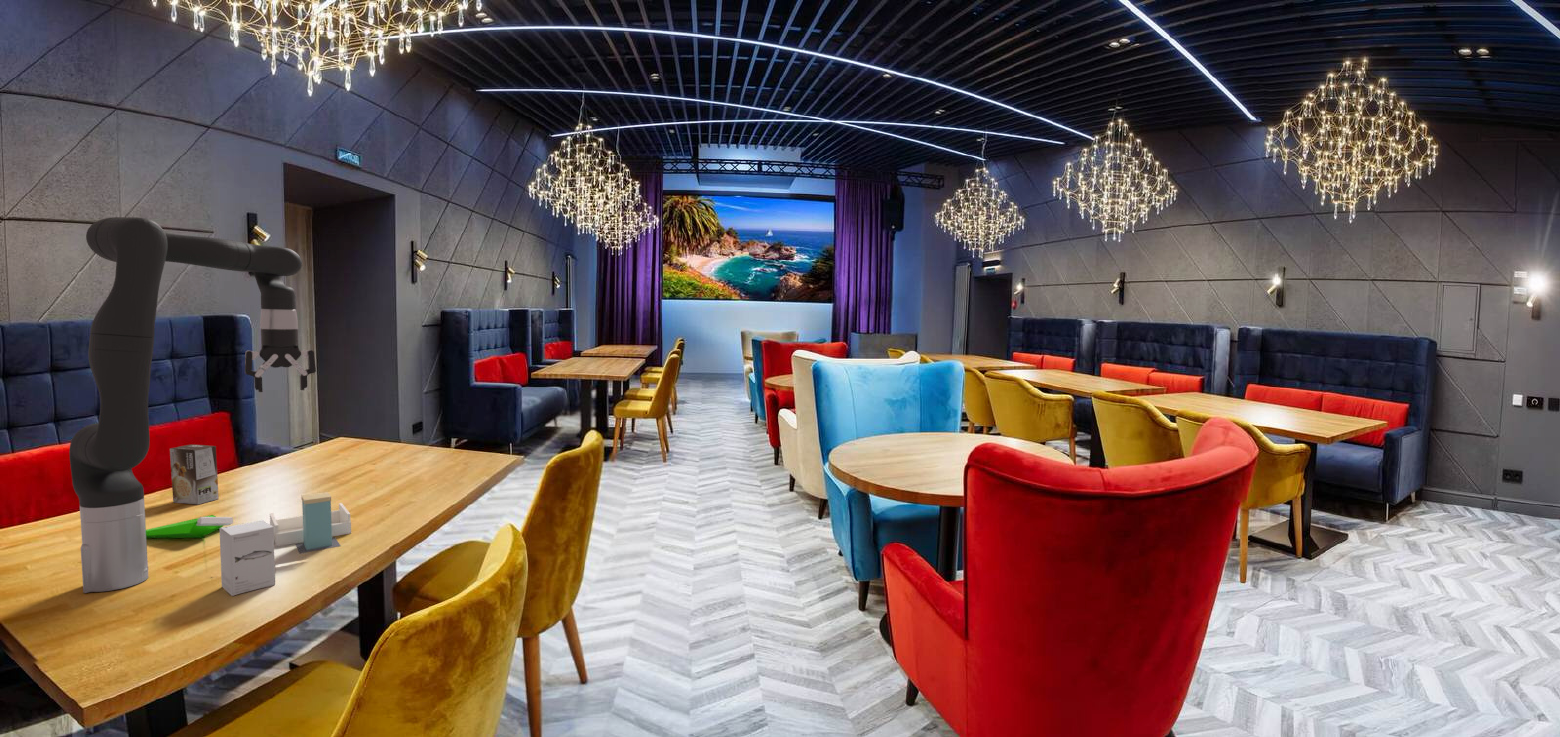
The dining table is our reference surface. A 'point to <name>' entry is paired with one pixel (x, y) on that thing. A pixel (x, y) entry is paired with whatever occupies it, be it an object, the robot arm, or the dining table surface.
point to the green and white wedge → (190, 528)
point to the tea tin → (317, 520)
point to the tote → (293, 526)
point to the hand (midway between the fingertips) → (281, 390)
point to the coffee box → (194, 474)
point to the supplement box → (247, 557)
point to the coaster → (302, 548)
